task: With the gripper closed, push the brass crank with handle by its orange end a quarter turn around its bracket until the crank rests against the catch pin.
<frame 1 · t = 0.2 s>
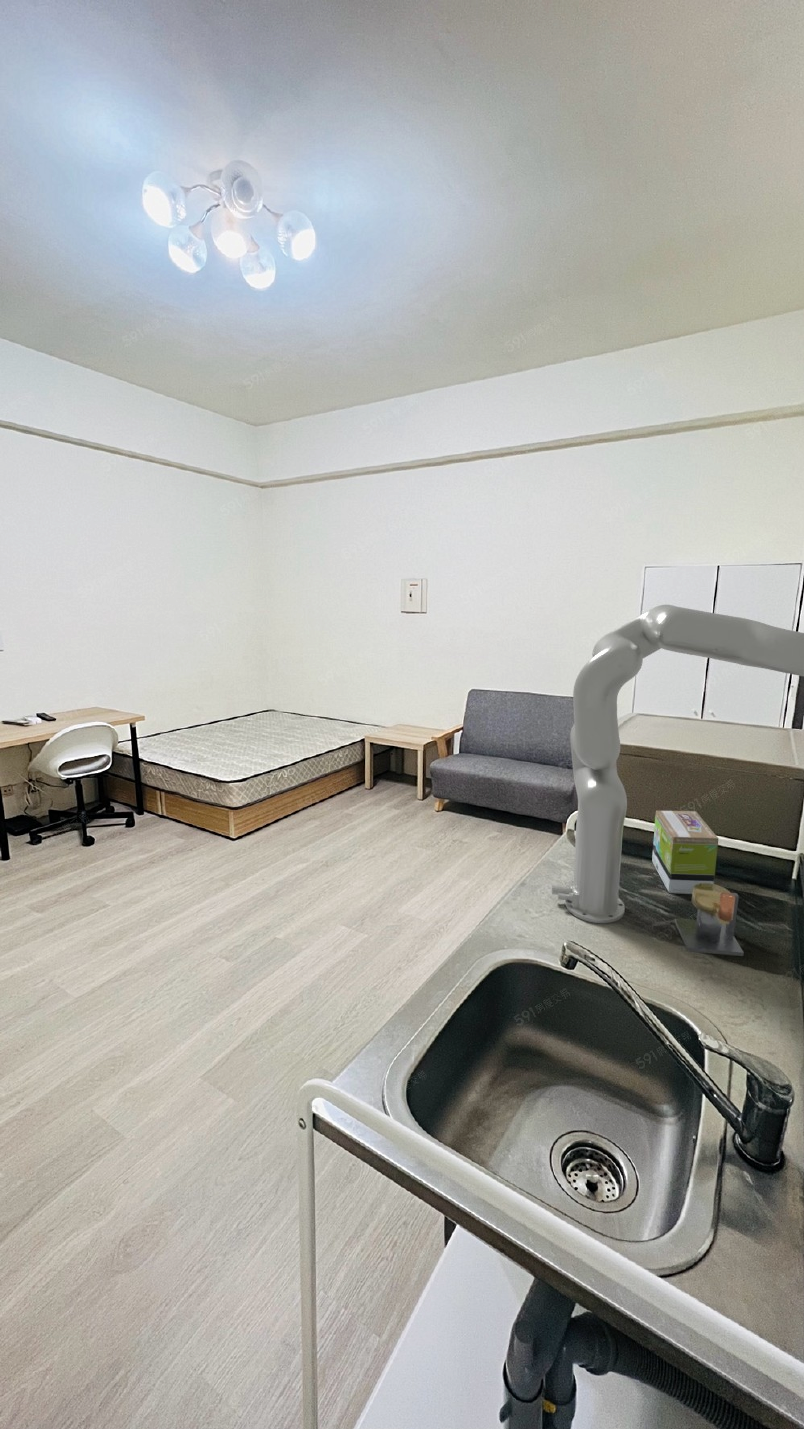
tea box: (680, 879, 141), on the worktop
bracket: (707, 938, 118), on the worktop
crank with handle: (717, 897, 113), point 11 cm above the worktop, hinge at 0.0°
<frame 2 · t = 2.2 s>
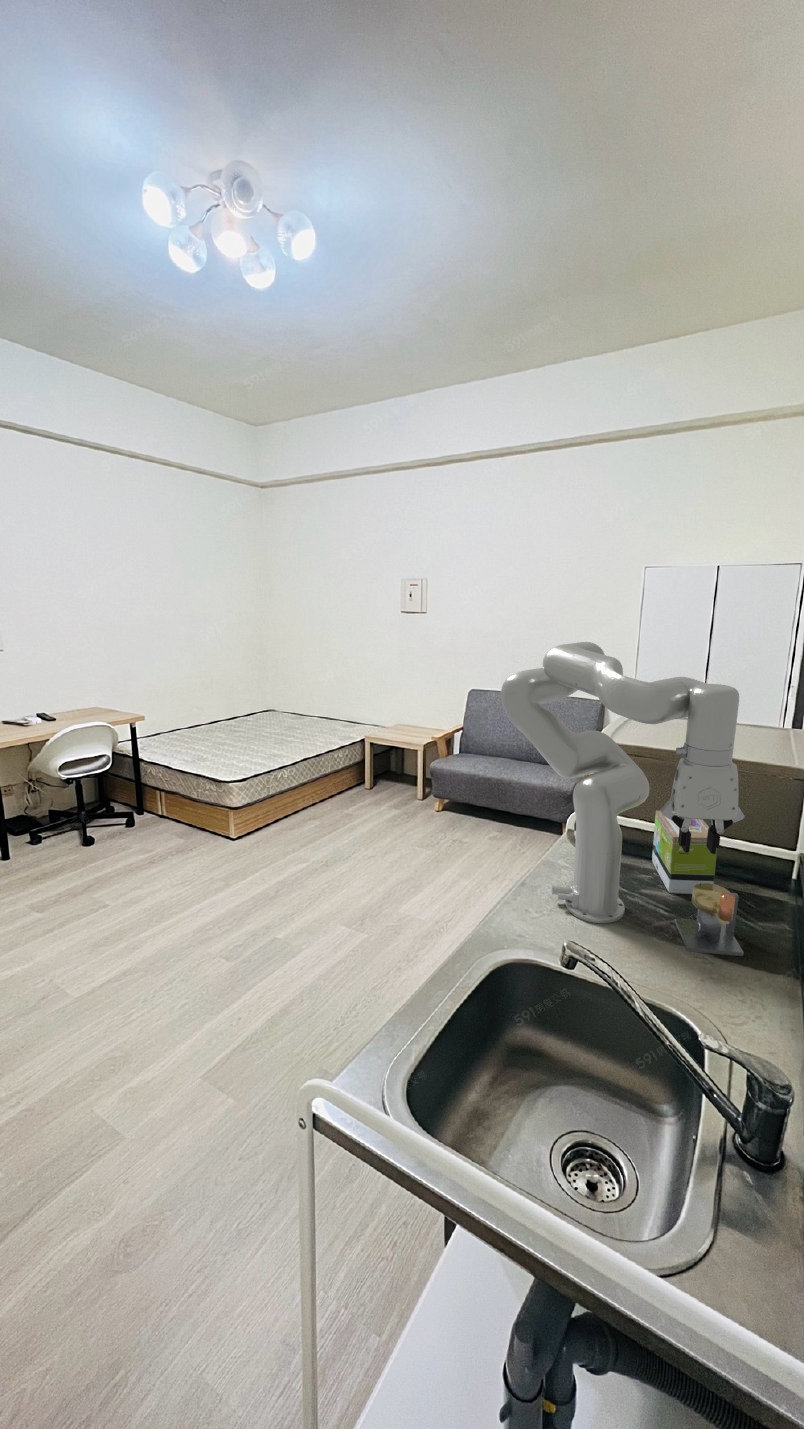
hand: (697, 848, 106), 23 cm above the worktop, fingers open, 3 cm apart
nothing on the worktop moved.
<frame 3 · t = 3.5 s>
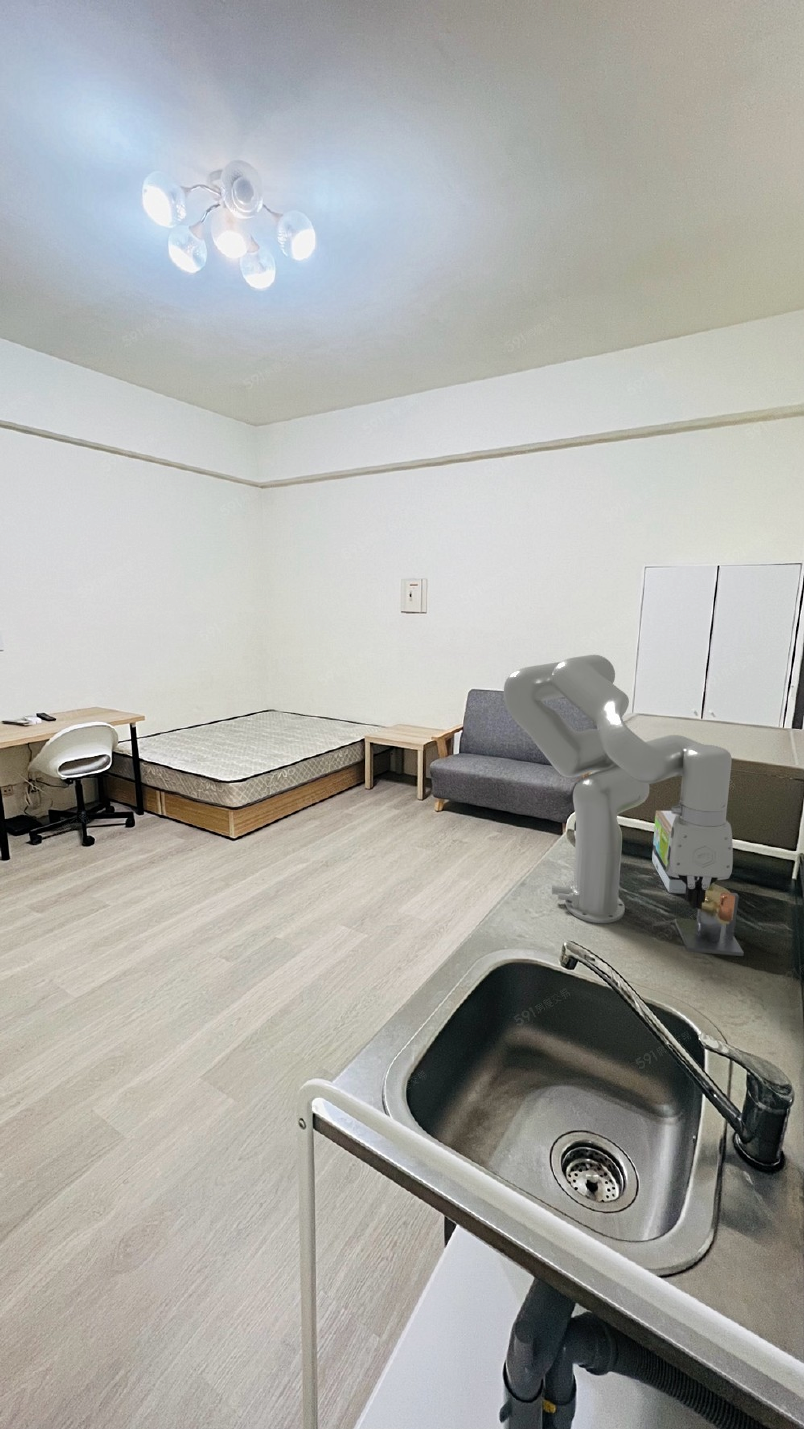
hand: (694, 904, 109), 12 cm above the worktop, fingers closed
nothing on the worktop moved.
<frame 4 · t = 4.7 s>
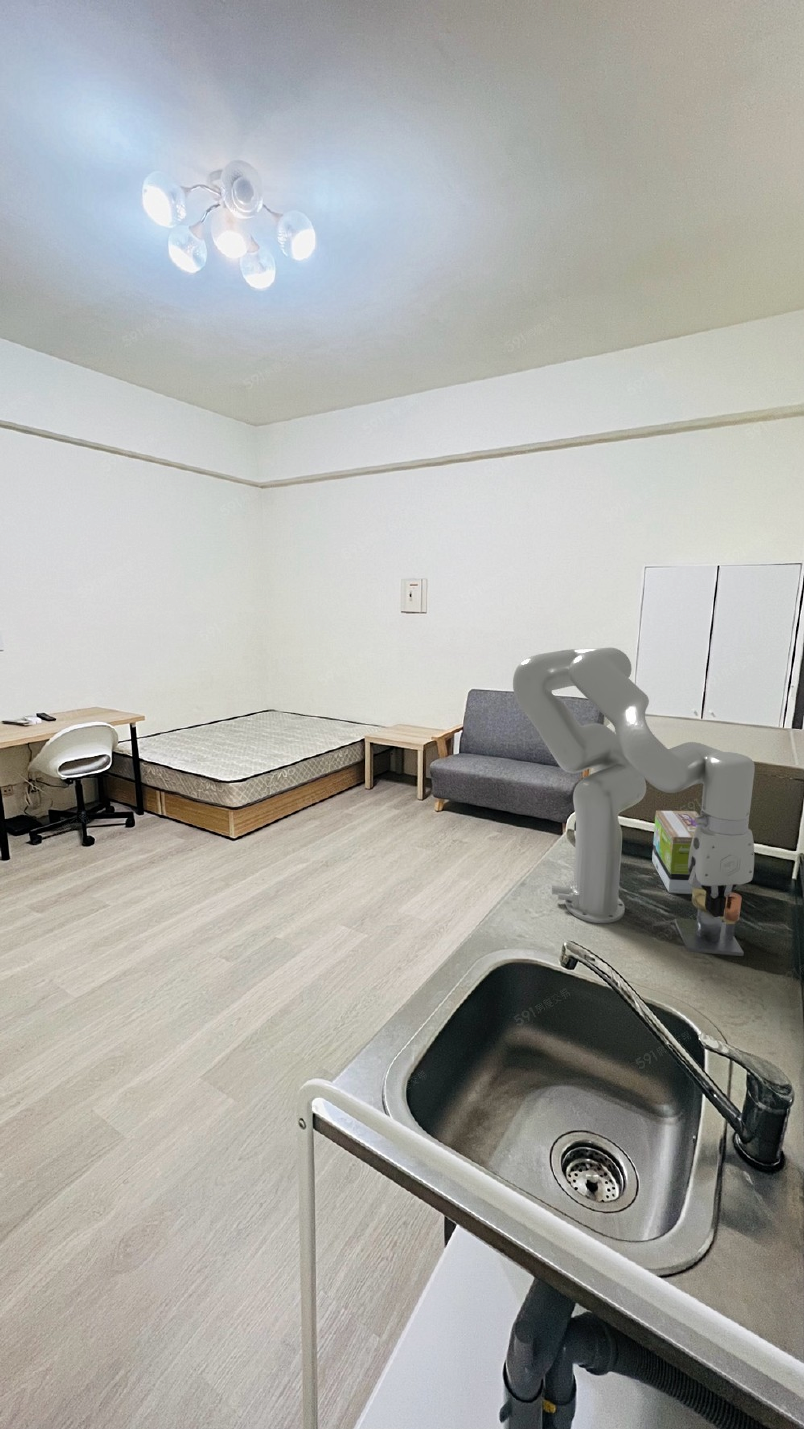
hand: (714, 912, 108), 11 cm above the worktop, fingers closed
crank with handle: (719, 897, 113), point 11 cm above the worktop, hinge at 8.6°, touching gripper
everything else where it was.
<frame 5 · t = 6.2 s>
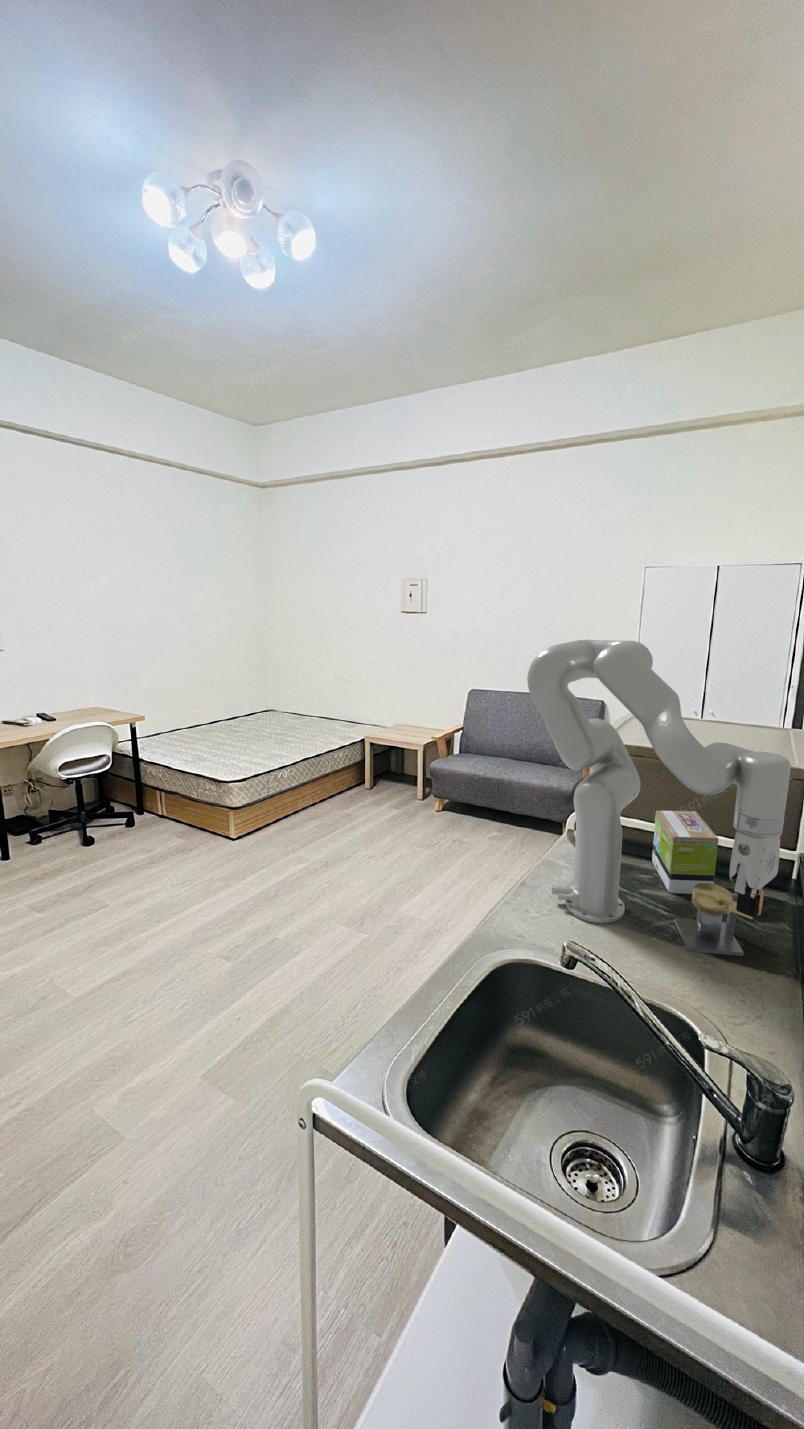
hand: (746, 912, 108), 11 cm above the worktop, fingers closed
crank with handle: (726, 895, 114), point 11 cm above the worktop, hinge at 52.1°, touching gripper
everything else where it was.
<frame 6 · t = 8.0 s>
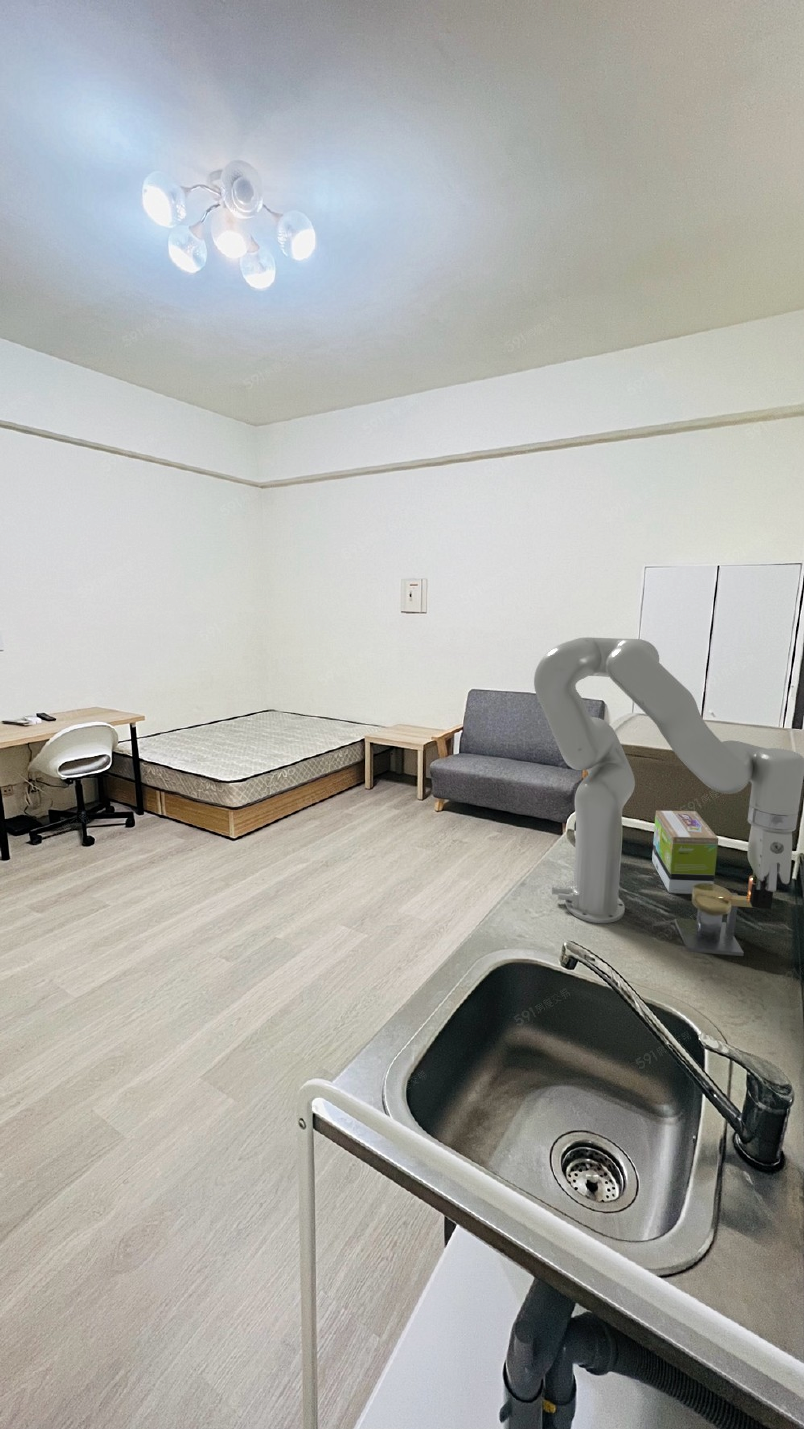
hand: (760, 905, 110), 11 cm above the worktop, fingers closed
crank with handle: (727, 891, 115), point 11 cm above the worktop, hinge at 88.4°
everything else where it was.
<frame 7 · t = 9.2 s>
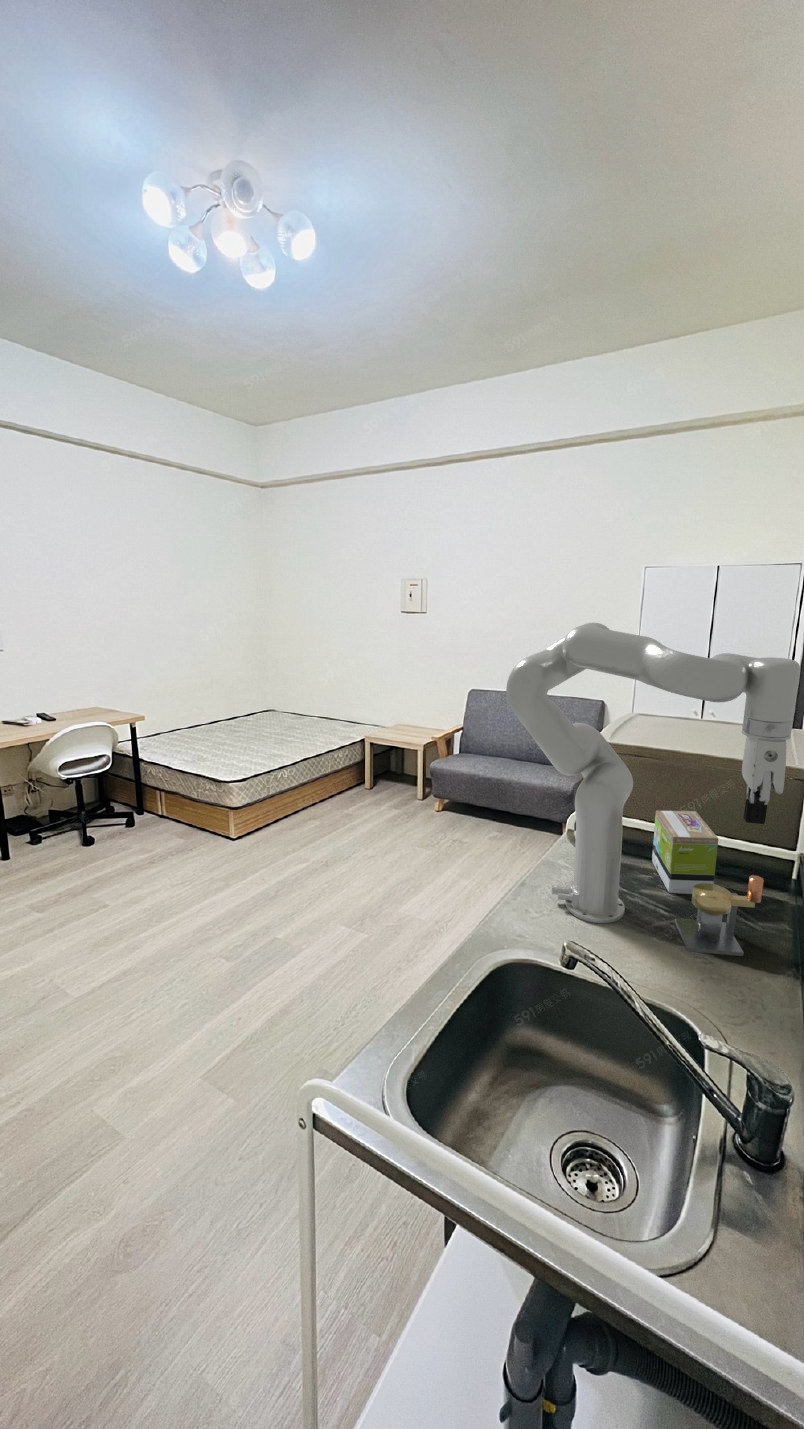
hand: (753, 821, 109), 27 cm above the worktop, fingers closed
nothing on the worktop moved.
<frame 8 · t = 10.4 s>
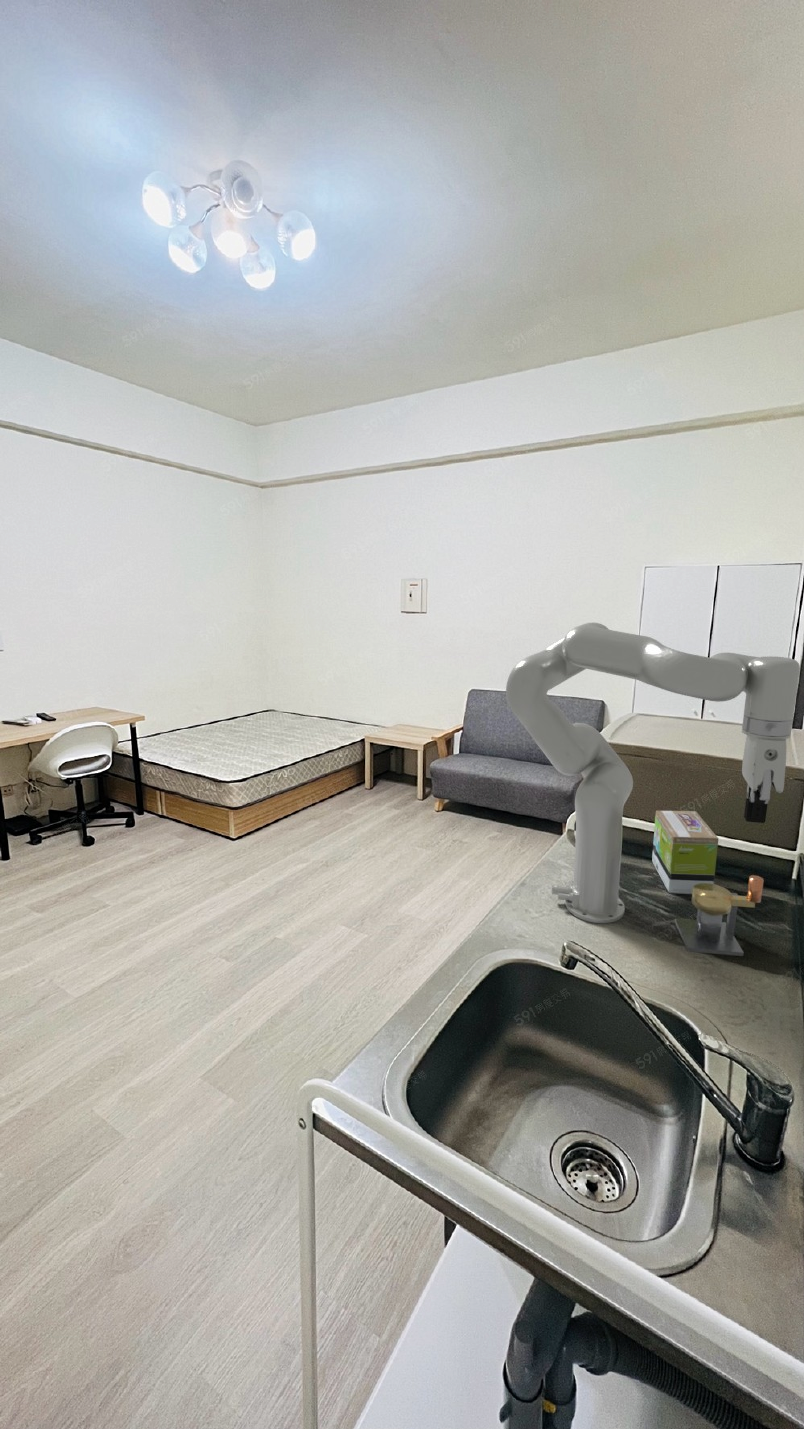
hand: (754, 820, 109), 27 cm above the worktop, fingers closed
nothing on the worktop moved.
at the end: crank with handle at +88° (first picture: +0°); crank with handle touching nothing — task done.
